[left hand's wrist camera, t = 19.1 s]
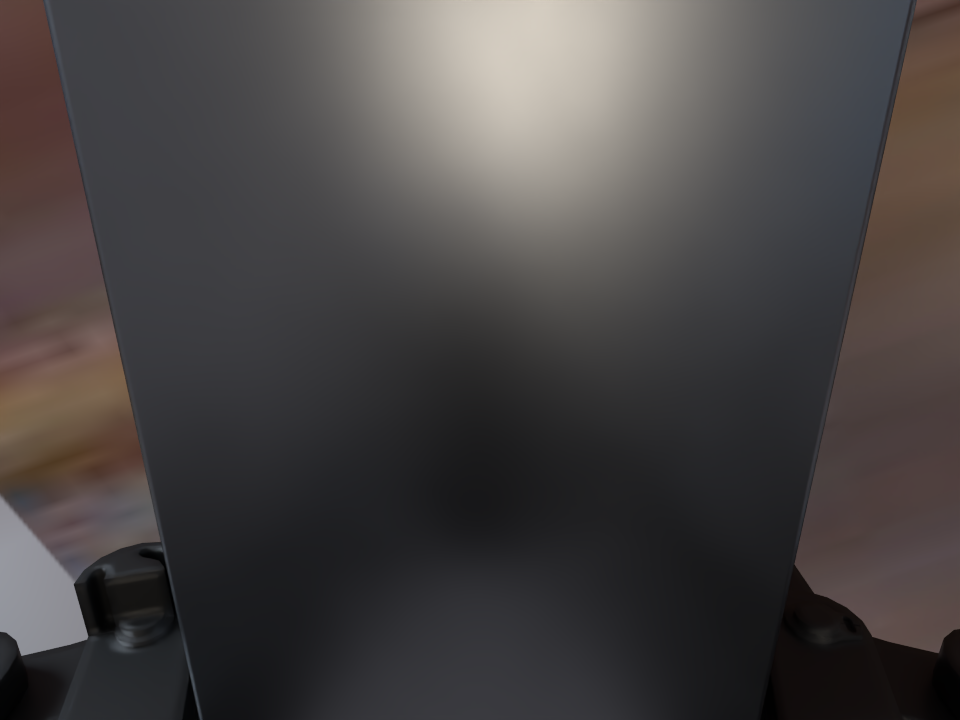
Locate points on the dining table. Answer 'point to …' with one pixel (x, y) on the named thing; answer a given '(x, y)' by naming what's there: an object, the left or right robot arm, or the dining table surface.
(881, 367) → the dining table surface
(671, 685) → the bar
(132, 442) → the dining table surface
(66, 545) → the dining table surface
